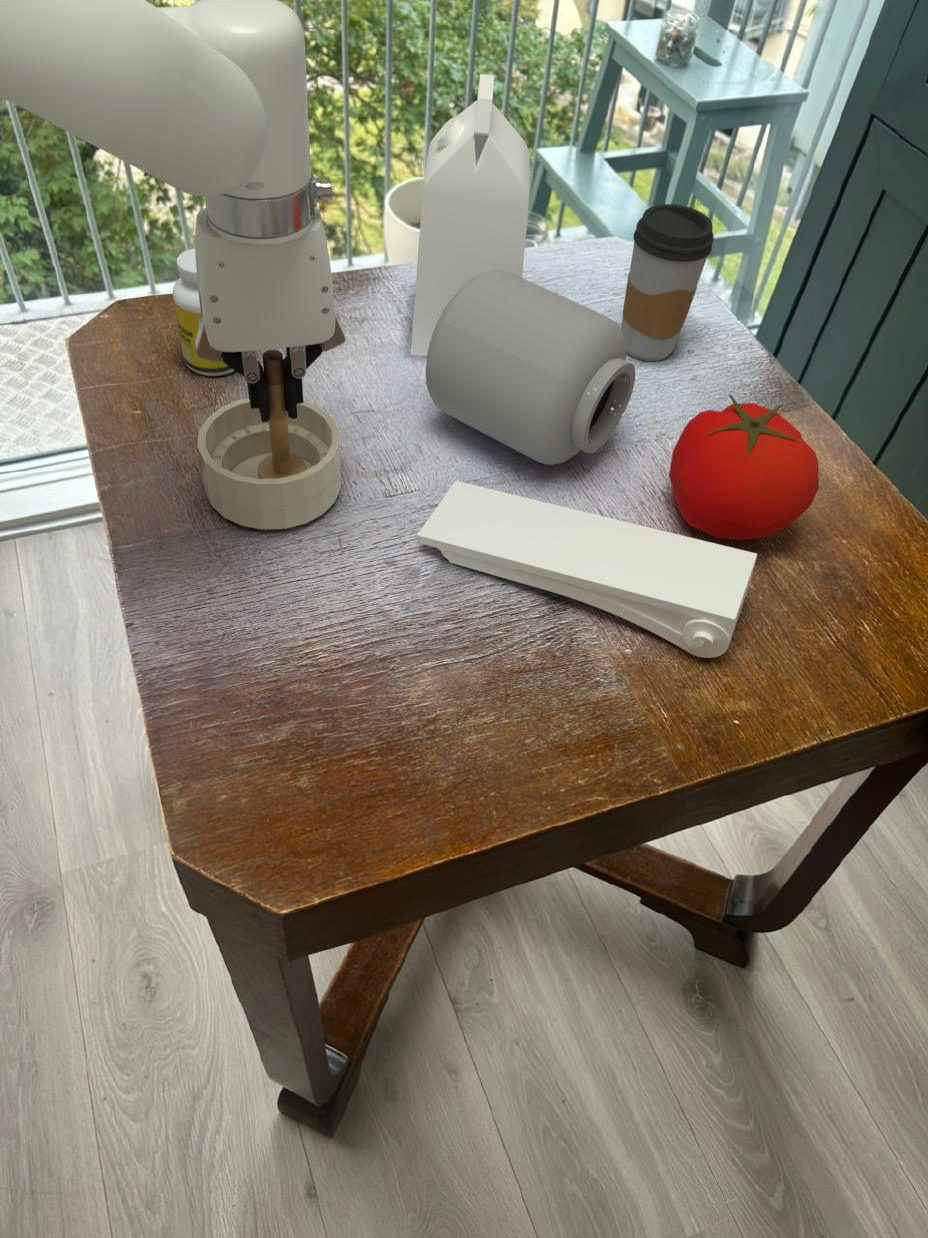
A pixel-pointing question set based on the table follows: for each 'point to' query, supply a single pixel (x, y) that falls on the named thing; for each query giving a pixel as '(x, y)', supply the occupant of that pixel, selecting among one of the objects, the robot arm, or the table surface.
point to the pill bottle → (192, 317)
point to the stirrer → (278, 423)
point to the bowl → (244, 441)
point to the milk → (469, 208)
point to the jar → (529, 368)
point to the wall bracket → (598, 563)
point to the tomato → (742, 472)
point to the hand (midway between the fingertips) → (276, 409)
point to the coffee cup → (663, 278)
